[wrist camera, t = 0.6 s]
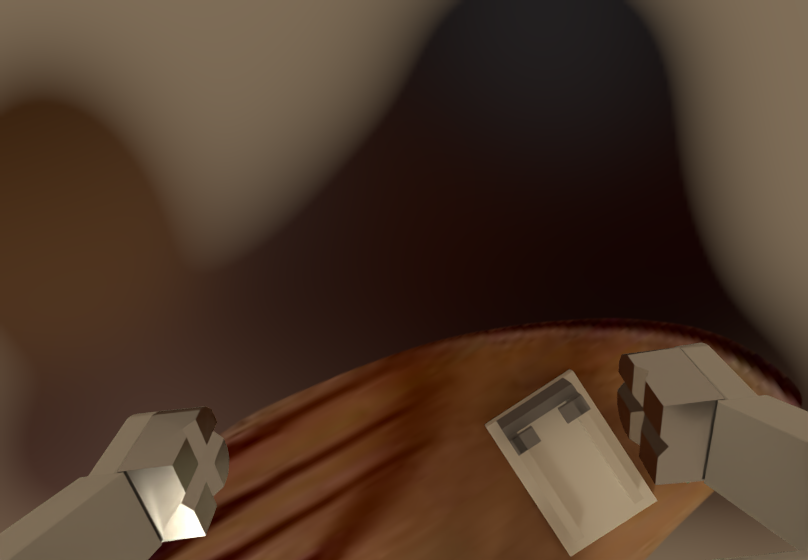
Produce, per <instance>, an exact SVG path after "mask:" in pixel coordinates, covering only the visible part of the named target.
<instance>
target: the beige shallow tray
mask: <svg viewBox="0 0 808 560" xmlns="http://www.w3.org/2000/svg"><path fill="white" fill-rule="evenodd" d="M484 425H485V427H486V428H487V430H488V431H489V433H490V434H491V436H492V437H493V439H494V440H495V442H496V444H497V445H498V447H499V448H500V450H501V451H502V453H503V454H504V456H505V457H506V459H507V460H508V462H509V463H510V465H511V466H512V468H513V470H514V471H515V473H516V474H517V476H518V477H519V479H520V480H521V482H522V483H523V485H524V486H525V488H526V489H527V491H528V493H529V494H530V496H531V497H532V499H533V500H534V502H535V503H536V505H537V506H538V508H539V509H540V511H541V512H542V514H543V515H544V517H545V519H546V520H547V522H548V523H549V525H550V526H551V528H552V529H553V531H554V532H555V534H556V535H557V537H558V538H559V540H560V541H561V543H562V545H563V546H564V548H565V549H566V551H567V552H568V554H569V555H570V557H571V556H572V555H574V554H576V553H577V552H579V551H580V550H582V549H583V548H585V547H586V546H588V545H589V544H591V543H593V542H594V541H596V540H597V539H599V538H600V537H602V536H603V535H605V534H606V533H608V532H610V531H611V530H613V529H614V528H616V527H617V526H619V525H620V524H622V523H623V522H625V521H627V520H628V519H630V518H631V517H633V516H634V515H636V514H637V513H639V512H640V511H642V510H643V509H645V508H647V507H648V506H650V505H651V504H653V503H654V502H656V501H657V499H656V498H655V496H654V495H653V493H652V492H651V490H650V489H649V487H648V485H647V484H646V482H645V481H644V479H643V478H642V476H641V475H640V473H639V472H638V470H637V469H636V467H635V465H634V464H633V462H632V461H631V459H630V458H629V456H628V455H627V453H626V452H625V450H624V449H623V447H622V445H621V444H620V442H619V441H618V439H617V438H616V436H615V435H614V433H613V432H612V430H611V429H610V427H609V425H608V424H607V422H606V421H605V419H604V418H603V416H602V415H601V413H600V412H599V410H598V409H597V407H596V406H595V404H594V402H593V401H592V399H591V398H590V396H589V395H588V393H587V392H586V390H585V389H584V387H583V386H582V384H581V382H580V381H579V379H578V378H577V376H576V375H575V373H574V372H573V371H572V370H570V369H569V370H567V371H566V372H564V373H563V374H561V375H560V376H558V377H557V378H555V379H554V380H552V381H551V382H549V383H547V384H546V385H544V386H543V387H541V388H540V389H538V390H537V391H535V392H534V393H532V394H531V395H529V396H527V397H526V398H524V399H523V400H521V401H520V402H518V403H517V404H515V405H514V406H512V407H511V408H509V409H508V410H506V411H504V412H503V413H501V414H500V415H498V416H497V417H495V418H494V419H492V420H491V421H489V422H488V423H486V424H484Z"/></svg>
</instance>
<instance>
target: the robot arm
mask: <svg viewBox="0 0 808 560" xmlns="http://www.w3.org/2000/svg"><path fill="white" fill-rule="evenodd" d="M619 373H620V375H621V377H622V378H623V380H624V383H623V384H622V386H621V387H620V388H619V389H618V394H617V405H618V411H619V416H620V420H621V423H622V425H623V428H624V430H625V432H626V434H627V436H628V437H629V439H631V440H632V441H634V442H636V443H637V444H639V445H640V453H639V457H640V459H641V461H642V462H643V464H644V466H645V468H646V469H647V471H648V473H649V475H650V476H651V478H652V480H653V482H654V483H655V485H660V484H672V483H683V482H695V481H704V483H705V484H706V485H708V486H709V487H710V488H712V489H713V490H715V491H716V492H718V493H719V494H720V495H722V496H723V497H725V498H726V499H727V500H729V501H730V502H732V503H733V504H734V505H736V506H737V507H739V508H740V509H741V510H743V511H744V512H746V513H747V514H749V515H750V516H752V517H753V518H754V519H756V520H757V521H759V522H760V523H761V524H763V525H764V526H765V527H767V528H768V529H770V530H771V531H772V532H774V533H775V534H777V535H778V536H779V537H781V538H782V539H784V540H785V541H787V542H788V543H789V544H791V545H792V546H793V547H795V548H796V549H798V550H799V551H791V552H780V553H771V554H762V555H752V556H742V557H733V558H723V559H715V560H808V412H807V411H805V410H802V409H800V408H797V407H795V406H793V405H790V404H788V403H785V402H783V401H780V400H778V399H775V398H773V397H770V396H768V395H763V396H758V395H757V394H756V393H755V392H754V391H753V390H752V389H751V388H750V387H749V386H748V385H747V384H746V383H745V382H744V381H743V380H742V379H741V378H740V377H739V376H738V375H737V374H736V373H735V372H734V371H733V370H732V369H731V368H730V367H729V366H728V365H727V364H726V363H725V362H724V361H723V360H722V359H721V358H720V357H719V356H718V355H717V354H716V353H715V352H714V351H713V350H712V349H711V348H710V347H709V346H708V345H707V344H704V343H696V344H689V345H683V346H676V347H674V348H668V349H660V350H653V351H645V352H637V353H629V354H622V355H621V358H620V361H619ZM216 423H217V421H216V418H215V416H214V414H213V412H212V410H211V409H210V408H208V407H196V408H186V409H176V410H167V411H159V412H150V413H141V414H135V415H133V416H131V417H129V418H128V419H127V420H126V422H125V423H124V425H123V426H122V427H121V429H120V430H119V432H118V433H117V435H116V437H115V438H114V439H113V441H112V442H111V443H110V445H109V446H108V448H107V449H106V451H105V452H104V454H103V455H102V457H101V458H100V460H99V461H98V463H97V464H96V466H95V467H94V468H93V470H92V472H91V473H90V474H89V476H88V477H80V478H79V479H77V480H76V481H75V482H73V483H72V484H70V485H69V486H67V487H66V488H64V489H63V490H62V491H60V492H59V493H57V494H56V495H54V496H53V497H52V498H50V499H49V500H47V501H46V502H44V503H43V504H42V505H40V506H39V507H37V508H36V509H34V510H33V511H32V512H30V513H29V514H27V515H26V516H24V517H23V518H22V519H20V520H19V521H17V522H16V523H14V524H13V525H12V526H10V527H9V528H7V529H6V530H4V531H3V532H2V533H0V560H148V559H149V558H150V557H151V556H152V554H153V553H154V552H155V551H156V550H157V549H158V548H159V547H160V546H161V545H162V543H161V542H164V541H171V540H178V539H185V538H192V537H199V536H206V533H207V530H208V528H209V525H210V522H211V520H212V517H213V514H214V512H215V509H216V506H217V505H216V502H215V500H214V498H213V496H214V495H215V494H216V493H217V492H218V491H219V490H220V489H222V488H223V487H224V484H225V482H226V479H227V476H228V468H229V455H228V449H227V446H226V443H225V440H224V438H222V437H221V436H219V435H218V434H216V433H215V432H214V431H213V430H214V428H215V425H216Z"/></svg>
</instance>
